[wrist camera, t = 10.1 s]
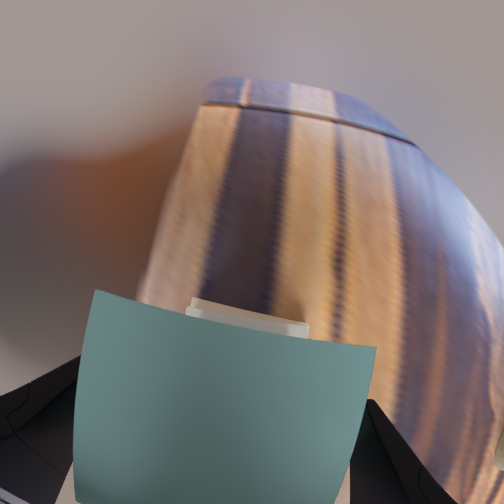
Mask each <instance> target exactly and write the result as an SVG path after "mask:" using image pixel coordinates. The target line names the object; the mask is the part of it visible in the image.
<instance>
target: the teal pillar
mask: <svg viewBox="0 0 504 504" xmlns="http://www.w3.org/2000/svg"><path fill="white" fill-rule="evenodd" d="M376 348H377V347H369V346H360V345H351V344H342V343H334V342H326V341H319V340H312V339H305V338H299V337H293V336H287V335H281V334H275V333H269V332H264V331H258V330H253V329H248V328H243V327H238V326H233V325H228V324H224V323H219V322H214V321H210V320H206V319H201V318H197V317H193V316H189V315H185V314H181V313H177V312H173V311H169V310H165V309H161V308H158V307H154V306H150V305H147V304H143V303H140V302H136V301H133V300H129V299H126V298H123V297H119V296H116V295H113V294H110V293H106V292H103V291H100V290H97V289H96V290H95V293H94V297H93V301H92V305H91V310H90V314H89V318H88V323H87V327H86V332H85V337H84V342H83V348H82V354H81V360H80V366H79V373H78V381H77V390H76V400H75V412H74V430H73V471H74V488H75V499H76V501H77V502H79V503H81V504H334V502H335V499H336V497H337V495H338V492H339V489H340V487H341V484H342V482H343V479H344V476H345V473H346V471H347V468H348V465H349V462H350V459H351V456H352V453H353V449H354V446H355V443H356V439H357V436H358V432H359V429H360V425H361V421H362V417H363V413H364V409H365V405H366V401H367V396H368V392H369V387H370V382H371V377H372V372H373V366H374V360H375V354H376Z"/></svg>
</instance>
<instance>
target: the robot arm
mask: <svg viewBox="0 0 504 504" xmlns="http://www.w3.org/2000/svg"><path fill="white" fill-rule="evenodd" d="M80 360H81V355H80V356H78V357H76V358H74V359H72V360H70V361H69V362H67V363H65V364H63V365H61V366H59V367H57V368H56V369H54V370H52V371H50V372H48V373H46V374H44V375H42V376H41V377H39V378H37V379H35V380H33V381H31V383H27V384H26V385H23V386H22V387H20V388H18V389H16V390H13V391H11V392H9V393H6V394H4V395H2V396H0V504H55V502H56V500H57V497H58V495H59V492H60V490H61V488H62V485H63V483H64V480H65V477H66V476H67V473H68V471H69V469H70V467H71V464H72V462H73V430H74V412H75V400H76V390H77V381H78V373H79V366H80ZM350 504H458V503H456V502H455V501H454V500H453V499H452V498H451V497H450V495H449V494H448V493H447V492H446V491H445V490H444V489H443V488H442V487H441V486H440V485H439V484H438V483H437V482H436V481H435V479H434V478H433V477H432V476H431V474H430V473H429V472H428V471H427V469H426V468H425V467H424V465H422V463H421V461H420V460H419V459H418V457H417V456H416V455H415V453H414V452H413V451H412V449H411V448H410V447H409V445H408V444H407V443H406V441H405V440H404V439H403V437H402V436H401V435H400V433H399V432H398V431H397V429H396V428H395V427H394V425H393V424H392V423H391V422H390V420H389V419H388V418H387V416H386V415H385V414H384V412H383V411H382V410H381V408H380V407H379V406H378V404H377V403H376V402H375V401H374V400H373V399H367V401H366V405H365V409H364V413H363V417H362V421H361V425H360V429H359V432H358V436H357V439H356V443H355V446H354V449H353V453H352V456H351V459H350Z"/></svg>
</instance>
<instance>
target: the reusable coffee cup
mask: <svg viewBox="0 0 504 504" xmlns="http://www.w3.org/2000/svg"><path fill="white" fill-rule="evenodd" d="M494 464H495V466H496V468H498V469H501V470H503V471H504V431H503V433H502V436H501V438H500V440H499V443H498V446H497V449H496V452H495V458H494Z"/></svg>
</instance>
